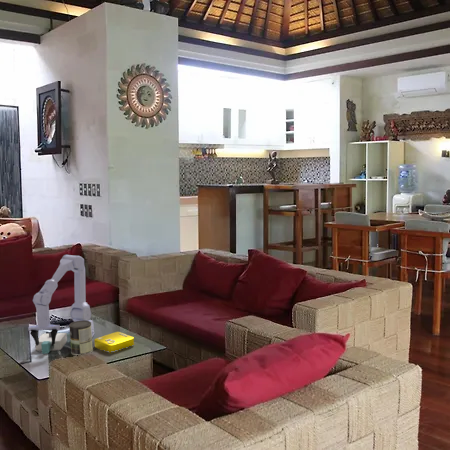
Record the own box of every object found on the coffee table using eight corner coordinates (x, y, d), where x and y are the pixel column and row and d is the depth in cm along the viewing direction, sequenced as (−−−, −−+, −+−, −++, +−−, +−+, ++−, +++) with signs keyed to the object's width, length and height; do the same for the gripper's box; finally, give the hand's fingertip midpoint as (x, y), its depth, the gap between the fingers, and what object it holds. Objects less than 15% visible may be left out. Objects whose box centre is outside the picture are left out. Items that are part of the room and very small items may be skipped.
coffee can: (69, 356, 264) (67, 327, 262) (73, 348, 274) (71, 321, 272) (91, 355, 265) (89, 326, 263) (94, 347, 275) (92, 319, 273)
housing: (43, 342, 284) (42, 333, 284) (67, 341, 285) (66, 332, 284) (35, 350, 273) (35, 342, 272) (60, 350, 273) (59, 341, 272)
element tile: (136, 345, 276) (135, 336, 275) (110, 354, 265) (109, 345, 265) (118, 339, 286) (117, 330, 286) (93, 347, 276) (92, 338, 275)
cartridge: (50, 343, 282) (50, 334, 281) (56, 343, 282) (55, 333, 281) (42, 353, 268) (41, 344, 267) (47, 353, 268) (47, 343, 267)
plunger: (56, 336, 282) (55, 332, 281) (54, 338, 279) (54, 334, 278) (50, 336, 282) (49, 332, 281) (48, 338, 279) (48, 334, 278)
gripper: (25, 320, 263) (27, 348, 265) (56, 319, 263) (58, 346, 265) (30, 315, 270) (32, 342, 272) (60, 314, 270) (62, 341, 272)
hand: (45, 344), depth 269 cm, fingers open, 7 cm apart
